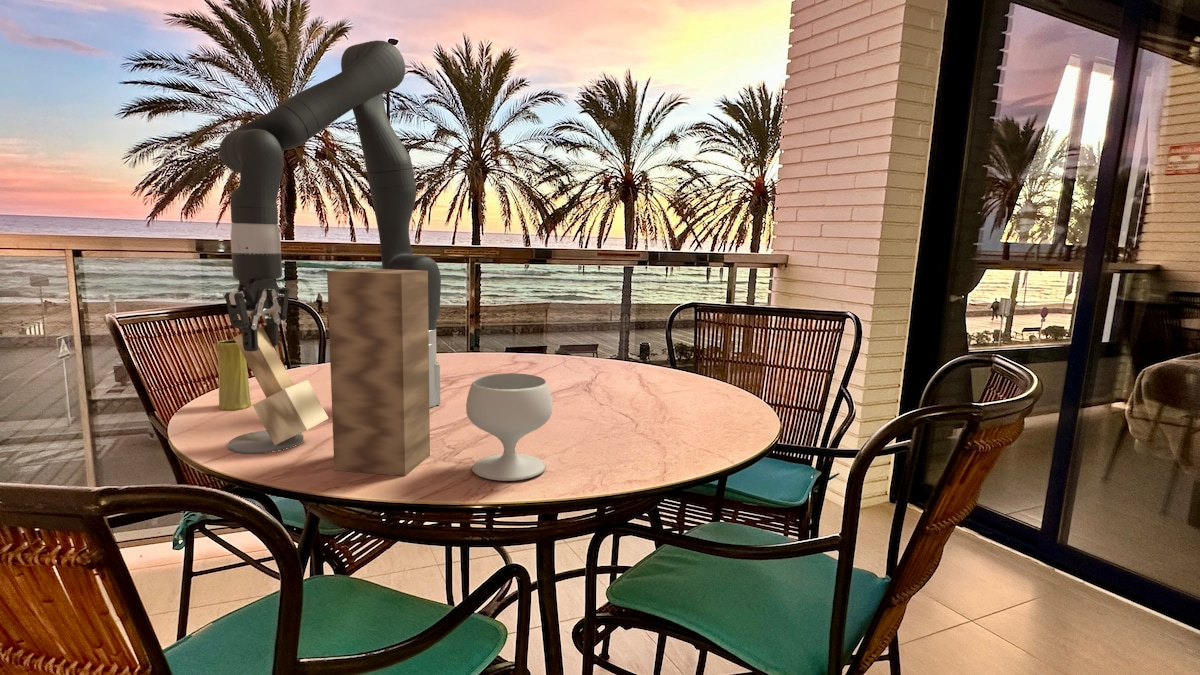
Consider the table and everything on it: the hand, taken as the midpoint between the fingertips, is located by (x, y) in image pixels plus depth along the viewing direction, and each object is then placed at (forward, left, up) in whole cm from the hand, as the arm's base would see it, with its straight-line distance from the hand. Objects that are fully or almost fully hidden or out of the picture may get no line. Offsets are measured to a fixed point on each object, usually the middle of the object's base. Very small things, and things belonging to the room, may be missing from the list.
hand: (261, 347), depth 112 cm
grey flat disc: (0, 0, -17) cm, 17 cm away
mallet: (0, -1, -8) cm, 8 cm away
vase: (+1, -29, -18) cm, 34 cm away
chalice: (-30, +35, -18) cm, 49 cm away
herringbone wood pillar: (-14, +21, -17) cm, 31 cm away
